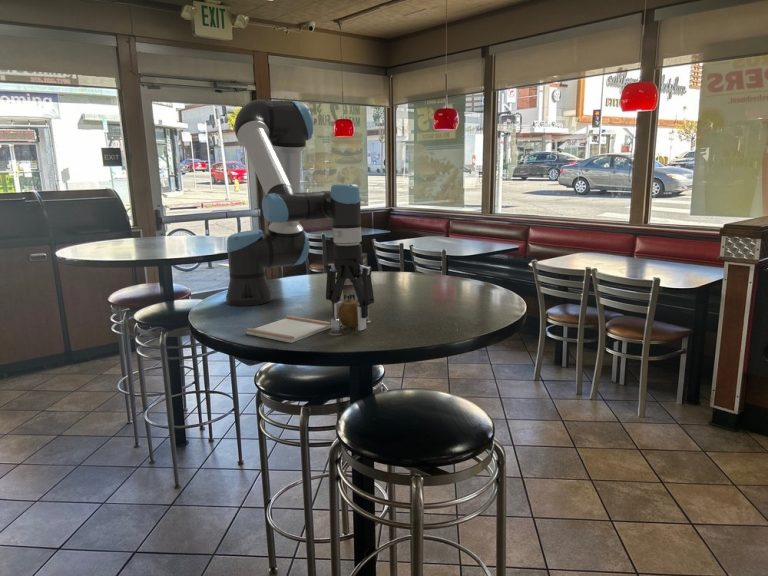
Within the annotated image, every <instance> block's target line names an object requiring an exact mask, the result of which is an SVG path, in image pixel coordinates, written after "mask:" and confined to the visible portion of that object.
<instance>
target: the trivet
mask: <svg viewBox="0 0 768 576" xmlns="http://www.w3.org/2000/svg"><path fill="white" fill-rule="evenodd" d="M328 329H331V321H325V320H324V321H323V320H320V319H319V320H317V319H314V318H313V319H312V318H307V317H306V318H305V317H300V316H296V315H295V316H293V315H286V316H285V318H283V319H279V320H276V321H273V322H269V323H267V324H264V325H260V326H259V327H255V328H251V327H248V328H246V335H249V336H256V337H260V338H266V339H271V340H275V341H281V342H287V343H290V344H291V343H294V342H297V341H300V340H302V339H305V338H308V337H310V336H313V335H315V334H318V333H321V332H323V331H326V330H328Z"/></svg>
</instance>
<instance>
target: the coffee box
mask: <svg viewBox="0 0 768 576" xmlns="http://www.w3.org/2000/svg"><path fill="white" fill-rule="evenodd" d="M361 262H362V265H363V266H366V267H368V253H367V252H366V253H365V252H362V257H361ZM360 275H361V278H362V274H361V271H360ZM355 279H356V278H355ZM361 281H362V280H361ZM362 284H363V283H362ZM349 299H350V300H352V301H355V302H357V303H358V304H359V301H358V298H357V295H356V292H355V289H354V286H353V283H351V281H350V279H348V278H347V279H346V280H345V283H344V287H343V290H342V303H343V302H345V301H347V300H349ZM359 305H360V304H359Z"/></svg>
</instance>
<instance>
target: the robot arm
mask: <svg viewBox="0 0 768 576" xmlns="http://www.w3.org/2000/svg"><path fill="white" fill-rule="evenodd" d="M234 133H235V136H236V139H237V141H238V143H239V144H240V146H241V147H243V148H244V149H245V151H246V153H247V156H248V158H249V160H250V163H251V164H252V167H253V169H254V172H255V173H256V176H257V179H258V181H259V183H260V185H261V187H262V190H263V193H264V195H263V197H262V200H261V210H262V215H263V217H264V219H265V221H266V222H269V223H270V224H269V225H268V231H267V232H266V233H264V231H263V230H262V229H250V230H243V231H239V232H235V233H232V234H231V235H229V236H228V238H226V243H227V244H226V252H227V259H228V260H227V261H228V273H229V281H228V282H229V283H228V287H227V293H226V295H225V300H226V304H227V305H229V306H236V307H237V306H238V307H239V306H240V307H247V306H248V307H249V306H257V305H262V304H267V303H269V302H272V301H273V292H272V291H271V288H270V284H269V282H268V280H267V277H266V276H267V275H266V269H271V268H279V267H280V268H281V267H294V266H297V265H301V264H303V263H304V262H305V261H306V260H307V258H308V255H309V252H310V238H309V235H308V233H307V231H305V230H304V227H303V226H302V225H301V223H300V222H302V221H303V222H304V221H319V220H331V223H332V224H331V225H332V226H331V228H332V242H333V243H334V245H333V246H332V247H333V248H332V249H333V259H334V263H328V264H326V265H325V271H326V284H325V285H326V286H325V287H326V289H325V300H327V301H330V302H331V306H332V308H331V309H332V314H333V315H334V318H339V308H340V306H341V304H342V303H343V301H342V299H341V297H342V295H343V287H344V283H345V280H346V279H347V278H348V279H350V281H351V283H353V286H354V289H355V292H356V295H357V298H358V301H359V304H360V305H359V306H358V307H357V310H358V325H357V329H358V332H359V331H363V330H365V329H367V324H366V318H367V317H368V315H369V305H372V304H374V303H375V296H374V289H373V282H372V267H371V266H367V267H366V266H363V265H362V262H361V257H362V253H363V247H362V246H363V245H362V244H361V242H362V239H363V238H362V226H361V225H362V224H361V223H362V219H361V218H362V217H361V216H362V215H361V199H362V198H361V196H360V195H361V194H360V186H359V185H358V184H357V183H344V184H343V183H342V184H341V183H340V184H339V183H338V184H333V185H331V187H330V190H322V191H321V190H320V191H311V192H309V191H308V192H301V159H302V157H301V155H302V154H301V152H302V151H303V150H304V149H305V148H306V146H307V141H309V140H311V139H312V137H313V134H314V120H313V117H312V112H311V110H310V109H309V107H308V105H307V104H306V103H304V102H302V101H297V100H296V101H294V100H278V99H277V100H276V99H275V100H274V99H273V100H272V99H254V100H251V101H250V102H247V103H246V104H245V105H243V106H242V107H241V108H240V110H239V111H238V113H237V114H236V118H235V120H234ZM360 271H361V274H362V278H361V275H360ZM355 278H356V279H355ZM361 280H362V281H361ZM362 283H363V284H362ZM341 326H343V325H342V323H341V321H340V327H341Z"/></svg>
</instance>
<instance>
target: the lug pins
mask: <svg viewBox="0 0 768 576" xmlns="http://www.w3.org/2000/svg"><path fill="white" fill-rule="evenodd" d="M369 315H370V314H368V317H367V318H366V325H367V324H371V322H372V320H371V319H370V318H369ZM329 322H331V328H330V331H329V332H328V336H330V337H340V336H342V335H343V331H342V330H341V326H340V319H339V318H335V317H334V318H333V317H332V318H330V321H329Z"/></svg>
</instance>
